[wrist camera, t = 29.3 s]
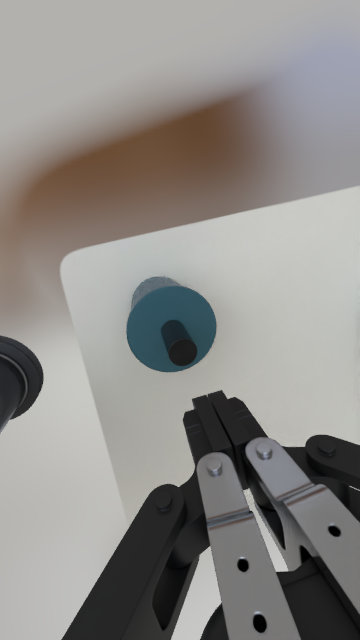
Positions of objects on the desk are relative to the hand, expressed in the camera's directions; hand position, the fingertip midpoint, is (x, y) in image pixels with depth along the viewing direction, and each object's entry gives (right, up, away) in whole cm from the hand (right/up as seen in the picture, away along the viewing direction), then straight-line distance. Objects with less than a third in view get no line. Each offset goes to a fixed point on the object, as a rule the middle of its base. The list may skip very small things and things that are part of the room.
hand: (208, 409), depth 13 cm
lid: (-2, +4, +12) cm, 13 cm away
